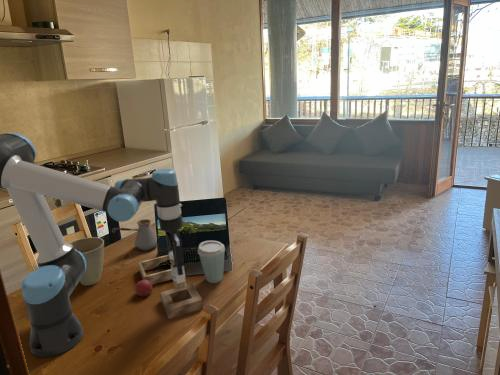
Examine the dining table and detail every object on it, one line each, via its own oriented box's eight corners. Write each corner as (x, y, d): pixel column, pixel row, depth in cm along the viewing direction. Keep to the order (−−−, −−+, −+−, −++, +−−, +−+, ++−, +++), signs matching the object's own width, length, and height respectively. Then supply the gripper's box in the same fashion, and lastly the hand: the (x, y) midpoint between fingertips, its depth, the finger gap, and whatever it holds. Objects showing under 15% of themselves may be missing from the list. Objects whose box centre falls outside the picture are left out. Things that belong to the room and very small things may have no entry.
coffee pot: (151, 239, 192) (147, 211, 187) (164, 245, 184) (160, 216, 180) (111, 255, 177) (105, 225, 173) (124, 263, 169) (118, 231, 165)
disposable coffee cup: (229, 272, 156) (226, 238, 152) (225, 287, 146) (222, 251, 141) (204, 272, 157) (200, 239, 153) (198, 287, 147) (194, 251, 143)
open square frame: (145, 286, 150) (144, 277, 149) (139, 270, 162) (138, 262, 161) (181, 276, 155) (179, 267, 154) (172, 262, 167) (171, 254, 166)
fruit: (139, 303, 143) (142, 291, 138) (132, 291, 145) (134, 278, 140) (154, 296, 146) (157, 284, 141) (147, 284, 149) (150, 272, 144)
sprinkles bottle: (188, 286, 134) (184, 252, 130) (176, 291, 132) (171, 256, 128) (183, 281, 138) (178, 247, 134) (171, 286, 135) (166, 251, 131)
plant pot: (62, 289, 151) (54, 252, 146) (86, 270, 165) (79, 236, 160) (96, 292, 148) (88, 255, 143) (117, 272, 161) (111, 238, 157)
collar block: (169, 319, 129) (167, 310, 128) (161, 301, 140) (159, 292, 139) (203, 308, 134) (202, 299, 133) (192, 291, 144) (192, 283, 143)
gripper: (188, 221, 121) (197, 287, 127) (174, 206, 136) (182, 265, 143) (165, 227, 118) (174, 294, 125) (153, 210, 133) (162, 270, 140)
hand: (178, 278), depth 134 cm, fingers closed on sprinkles bottle, 4 cm apart
